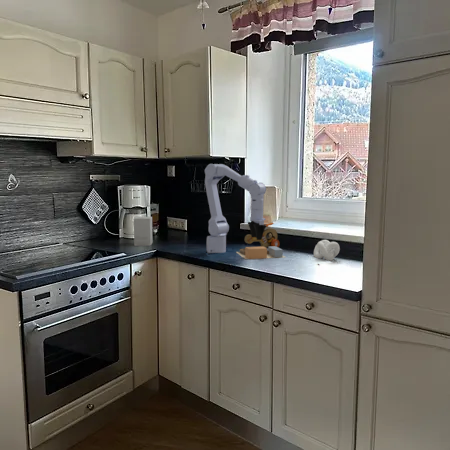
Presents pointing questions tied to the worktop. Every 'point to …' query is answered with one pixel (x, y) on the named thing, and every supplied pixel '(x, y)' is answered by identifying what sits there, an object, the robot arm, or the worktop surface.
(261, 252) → the orange block
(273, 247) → the pale grey rectangular block
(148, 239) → the supplement box
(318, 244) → the pretzel
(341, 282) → the worktop surface
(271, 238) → the toy helicopter
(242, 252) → the jig
